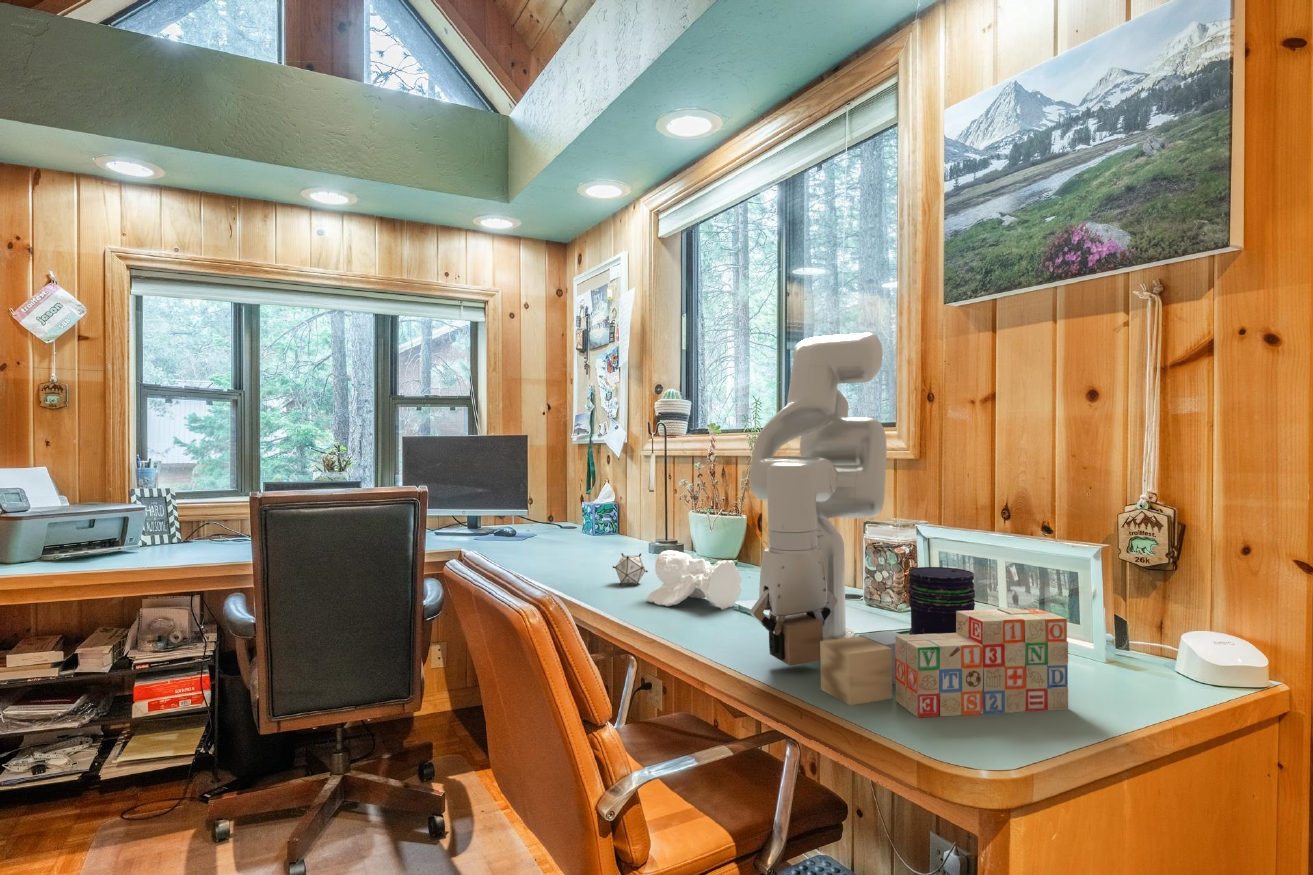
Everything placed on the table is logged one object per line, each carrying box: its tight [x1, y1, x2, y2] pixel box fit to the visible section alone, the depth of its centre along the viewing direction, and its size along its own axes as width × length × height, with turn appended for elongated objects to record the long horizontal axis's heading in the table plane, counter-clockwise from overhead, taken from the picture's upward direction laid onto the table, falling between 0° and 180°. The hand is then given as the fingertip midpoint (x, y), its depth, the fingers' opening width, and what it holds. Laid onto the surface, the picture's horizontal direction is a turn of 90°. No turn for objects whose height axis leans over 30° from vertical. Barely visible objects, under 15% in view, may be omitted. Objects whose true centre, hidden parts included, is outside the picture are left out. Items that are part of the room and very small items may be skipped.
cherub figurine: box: [646, 549, 742, 610], centre depth 161 cm, size 13×12×20 cm
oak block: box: [820, 635, 893, 706], centre depth 101 cm, size 7×7×7 cm
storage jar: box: [907, 566, 976, 635], centre depth 113 cm, size 10×10×15 cm
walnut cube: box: [769, 613, 823, 667], centre depth 113 cm, size 6×6×6 cm
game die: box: [612, 552, 649, 587], centre depth 184 cm, size 9×8×10 cm
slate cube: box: [858, 630, 902, 685], centre depth 109 cm, size 6×6×6 cm
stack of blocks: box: [895, 607, 1069, 718], centre depth 96 cm, size 21×6×12 cm, turn 97°
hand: (795, 652), depth 113 cm, fingers closed on walnut cube, 6 cm apart
